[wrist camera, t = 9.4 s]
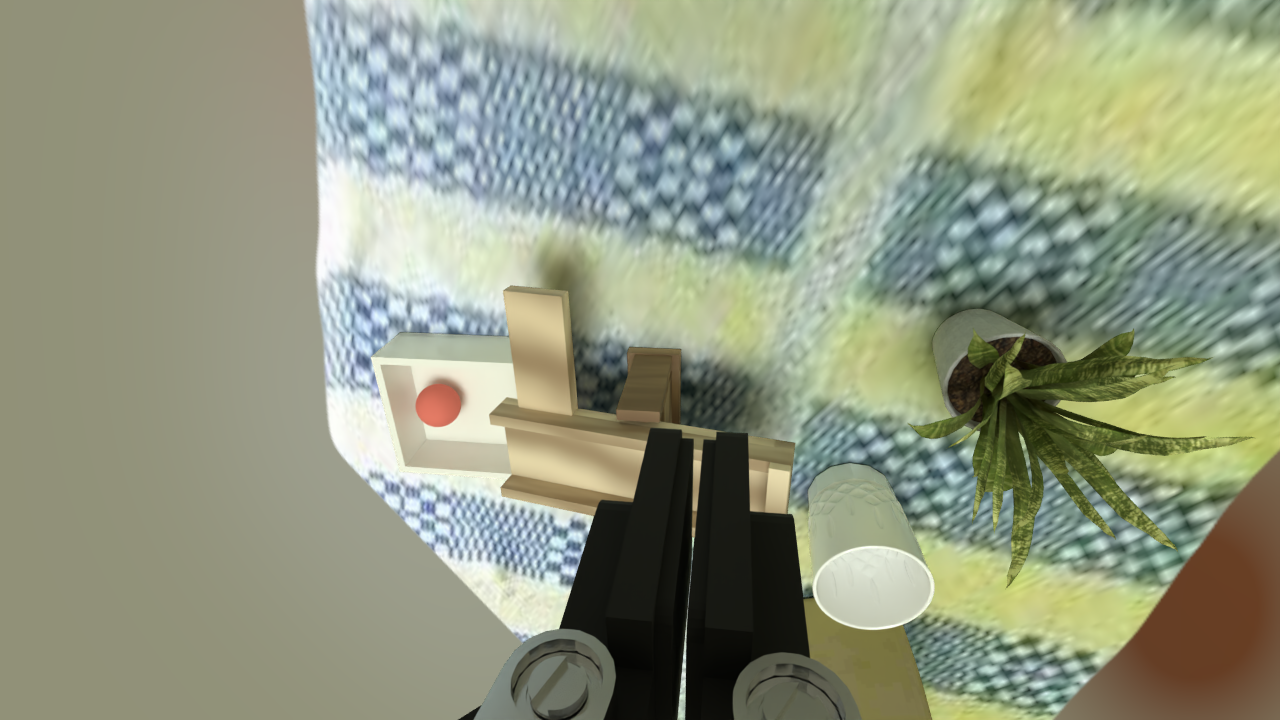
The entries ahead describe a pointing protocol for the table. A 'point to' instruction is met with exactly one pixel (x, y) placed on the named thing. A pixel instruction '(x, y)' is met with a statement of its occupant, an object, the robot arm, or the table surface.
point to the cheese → (869, 666)
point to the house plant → (1044, 416)
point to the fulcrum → (652, 386)
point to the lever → (592, 425)
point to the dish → (481, 385)
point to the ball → (438, 405)
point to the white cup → (864, 551)
